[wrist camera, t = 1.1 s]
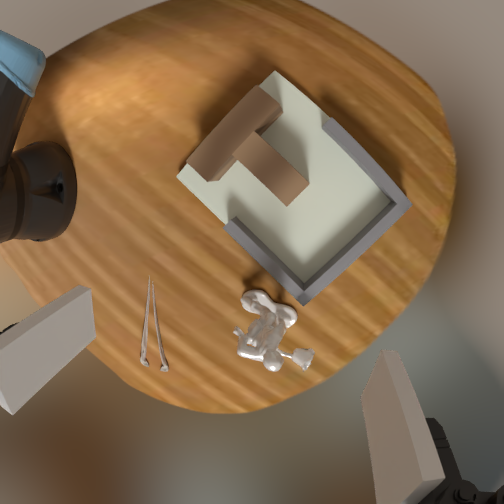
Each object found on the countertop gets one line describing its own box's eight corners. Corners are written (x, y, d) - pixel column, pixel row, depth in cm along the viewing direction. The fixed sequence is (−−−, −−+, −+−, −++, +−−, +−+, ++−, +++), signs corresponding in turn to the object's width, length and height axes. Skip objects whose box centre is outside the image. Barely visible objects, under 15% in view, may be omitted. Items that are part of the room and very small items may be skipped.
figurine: (246, 280, 35) (218, 330, 24) (322, 303, 34) (327, 363, 23) (236, 314, 37) (207, 372, 25) (308, 336, 36) (306, 402, 24)
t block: (199, 162, 32) (185, 161, 28) (262, 94, 29) (256, 84, 25) (265, 226, 32) (260, 233, 28) (332, 159, 29) (336, 157, 25)
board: (179, 176, 33) (167, 177, 30) (275, 73, 29) (272, 62, 25) (304, 297, 34) (303, 310, 31) (406, 202, 30) (416, 205, 26)
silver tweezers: (171, 369, 42) (166, 376, 40) (143, 361, 42) (137, 368, 40) (172, 256, 38) (166, 260, 36) (141, 251, 39) (134, 254, 37)
